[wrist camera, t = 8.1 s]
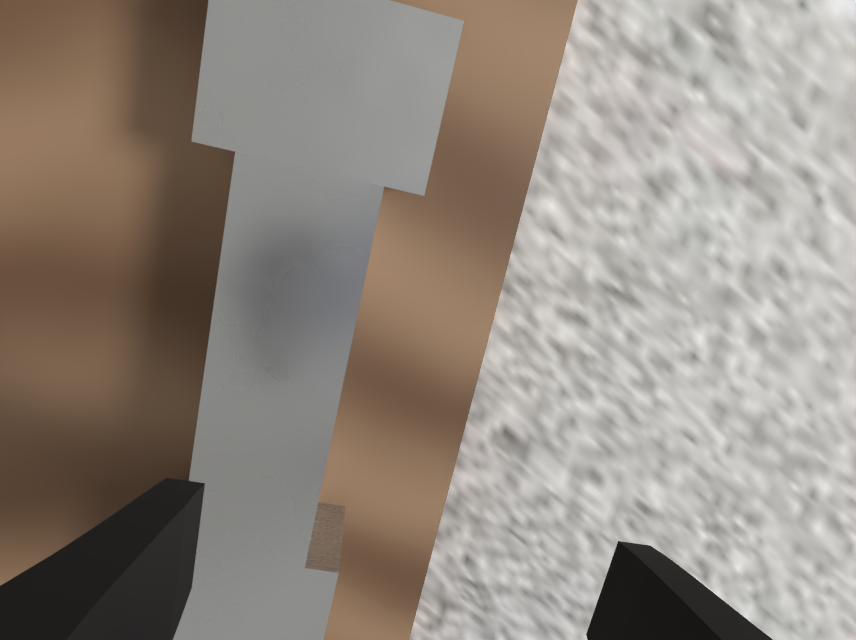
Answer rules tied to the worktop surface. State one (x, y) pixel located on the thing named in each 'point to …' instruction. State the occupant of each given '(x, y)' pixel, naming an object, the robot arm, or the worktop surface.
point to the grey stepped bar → (295, 281)
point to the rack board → (198, 270)
